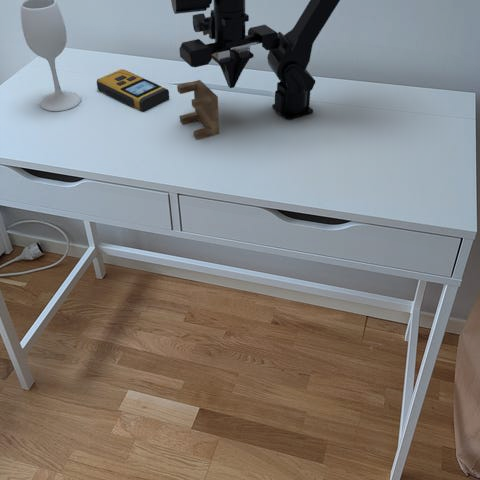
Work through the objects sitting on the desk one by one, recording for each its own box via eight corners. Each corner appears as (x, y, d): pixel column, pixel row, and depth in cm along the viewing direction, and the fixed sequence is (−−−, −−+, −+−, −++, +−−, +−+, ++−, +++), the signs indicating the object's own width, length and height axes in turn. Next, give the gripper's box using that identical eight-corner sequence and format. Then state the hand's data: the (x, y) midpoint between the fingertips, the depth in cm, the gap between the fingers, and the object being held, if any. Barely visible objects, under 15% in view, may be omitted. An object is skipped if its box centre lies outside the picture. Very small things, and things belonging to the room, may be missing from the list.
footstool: (201, 115, 122) (199, 79, 117) (218, 133, 117) (217, 96, 112) (180, 121, 120) (177, 85, 115) (196, 139, 115) (194, 102, 110)
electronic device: (124, 80, 136) (122, 66, 134) (171, 100, 128) (170, 86, 126) (95, 92, 131) (93, 78, 129) (142, 114, 123) (140, 100, 121)
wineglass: (87, 94, 129) (69, -3, 115) (69, 113, 123) (47, 12, 109) (52, 90, 131) (29, -7, 117) (32, 109, 125) (6, 8, 111)
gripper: (252, -15, 115) (252, 61, 125) (164, 2, 108) (171, 81, 119) (282, 3, 107) (279, 82, 118) (189, 22, 101) (195, 104, 111)
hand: (231, 87), depth 117 cm, fingers closed
